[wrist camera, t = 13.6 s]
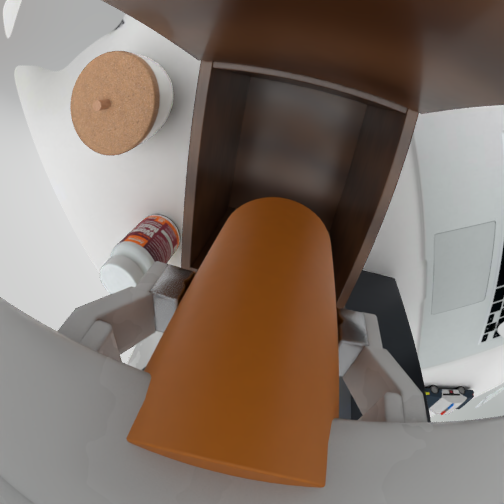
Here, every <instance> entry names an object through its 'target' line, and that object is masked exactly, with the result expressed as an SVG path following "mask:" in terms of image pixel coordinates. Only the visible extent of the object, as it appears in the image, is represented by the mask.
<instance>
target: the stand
mask: <svg viewBox="0 0 504 504" xmlns="http://www.w3.org/2000/svg"><path fill="white" fill-rule="evenodd" d="M343 309H348V310H352V311H357V312H364V313H369V314H374V315H376V317H377V321H378V326H379V331H380V336H381V341H382V347H383V349H387V351H388V352H389V353H390V354H391V355H392V357H393V358H394V359H395V360H396V361H397V363H398V364H399V365H400V366H401V368H402V369H403V370H404V371H405V372H406V374H407V375H408V376H409V377H410V379H411V380H412V381H413V382H414V383H415V385H416V386H417V387H418V388H419V390H420V391H421V392H422V393H423V397H424V403H425V409H426V415H427V422H431V421H430V414H429V408H428V403H427V397H426V392H425V387H424V382H423V377H422V373H421V368H420V364H419V360H418V356H417V352H416V348H415V344H414V340H413V336H412V333H411V329H410V326H409V322H408V319H407V315H406V312H405V309H404V305H403V302H402V299H401V296H400V293H399V290H398V287H397V284H396V281H395V279H394V278H390V277H386V276H382V275H378V274H374V273H370V272H367V271H363V270H362V271H361V273H360V275H359V278H358V280H357V282H356V284H355V286H354V288H353V290H352V292H351V294H350V296H349V298H348V300H347V302H346V304H345V306H344V308H343ZM362 416H363V415H362V413H361V411H360V409H359V408H358V406H357V404H356V402H355V400H354V398H353V396H352V395H351V393H350V391H349V389H348V387H347V385H346V384H345V382H344V380H343V377H341V376H339V418H340V419H350V420H358V419H359V418H360V417H362Z"/></svg>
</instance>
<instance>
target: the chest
mask: <svg viewBox="0 0 504 504" xmlns="http://www.w3.org/2000/svg"><path fill="white" fill-rule="evenodd" d="M418 114H419V112H416V111H414V110H412V109H409V108H407V107H404V106H402V105H399V104H397V103H394V102H392V101H389V100H386V99H383V98H381V97H378V96H375V95H372V94H369V93H366V92H363V91H360V90H357V89H354V88H351V87H347V86H344V85H340V84H337V83H333V82H330V81H326V80H322V79H318V78H314V77H310V76H305V75H301V74H296V73H292V72H287V71H281V70H276V69H270V68H264V67H258V66H251V65H244V64H236V63H227V62H216V61H203V60H201V64H200V71H199V77H198V83H197V90H196V97H195V104H194V112H193V119H192V128H191V136H190V145H189V155H188V165H187V176H186V188H185V201H184V216H183V234H182V257H181V268H183V269H186V270H190V271H193V272H195V273H197V271H198V269H199V268H200V266H201V264H202V262H203V261H204V259H205V257H206V255H207V254H208V252H209V250H210V248H211V247H212V245H213V243H214V241H215V240H216V238H217V236H218V234H219V233H220V231H221V229H222V228H223V226H224V224H225V223H226V221H227V219H228V218H229V217H230V215H231V214H232V213H233V212H234V211H235V210H236V209H237V208H239V207H240V206H242V205H243V204H245V203H247V202H250V201H252V200H255V199H260V198H266V197H280V198H285V199H290V200H293V201H296V202H298V203H300V204H302V205H304V206H306V207H307V208H309V209H310V210H311V211H313V212H314V213H315V214H316V215H317V216H318V217H319V218H320V219H321V221H322V222H323V224H324V225H325V227H326V229H327V231H328V234H329V237H330V241H331V249H332V259H333V270H334V281H335V294H336V307H338V308H344V306H345V304H346V302H347V300H348V298H349V296H350V294H351V292H352V290H353V288H354V286H355V284H356V282H357V280H358V278H359V275H360V273H361V271H362V269H363V267H364V264H365V262H366V260H367V258H368V255H369V253H370V251H371V249H372V246H373V244H374V242H375V239H376V237H377V234H378V232H379V229H380V227H381V225H382V222H383V219H384V217H385V214H386V212H387V209H388V207H389V204H390V201H391V199H392V196H393V193H394V190H395V188H396V185H397V182H398V179H399V176H400V173H401V170H402V167H403V164H404V161H405V158H406V155H407V152H408V149H409V145H410V142H411V139H412V135H413V132H414V128H415V125H416V121H417V117H418Z"/></svg>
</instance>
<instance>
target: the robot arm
mask: <svg viewBox="0 0 504 504" xmlns="http://www.w3.org/2000/svg"><path fill="white" fill-rule="evenodd" d="M195 275H196V273H195V272H193V271H190V270H186V269H183V268H180V267H176V266H173V265H169V264H166V263H162V262H159V261H156V262H154V263H153V264H152V266H151V267H150V268H149V269H148V271H147V272H146V273H145V275H144V276H143V277H142V278H141V280H140V281H139V282H138V284H137V285H136V286H135V287H132V286H131V287H128V288H126V289H123V290H121V291H118V292H116V293H113V294H111V295H108V296H106V297H103V298H100V299H98V300H96V301H93V302H91V303H88V304H85V305H83V306H80V307H78V308H76V309H75V310H74V312H73V313H72V314H71V315H70V317H69V318H68V319H67V320H66V321H65V322H64V324H63V325H62V326H61V328H60V329H59V330H58V331H55V330H53V329H52V328H50V327H48V326H46V325H44V324H42V323H41V322H39V321H37V320H35V319H34V318H32V317H31V316H29V315H27V314H26V313H24V312H22V311H21V310H19V309H18V308H16V307H14V306H13V305H11V304H10V303H8V302H7V301H5V300H4V299H2V298H1V297H0V504H504V416H498V417H491V418H484V419H475V420H464V421H450V422H427V415H426V409H425V403H424V397H423V393H422V392H421V391H420V390H419V388H418V387H417V386H416V385H415V383H414V382H413V381H412V380H411V379H410V377H409V376H408V375H407V374H406V372H405V371H404V370H403V369H402V368H401V366H400V365H399V364H398V363H397V361H396V360H395V359H394V358H393V357H392V355H391V354H390V353H389V352H388V351H387V349H383V347H382V341H381V336H380V331H379V326H378V321H377V317H376V315H374V314H369V313H364V312H357V311H352V310H348V309H343V308H338V307H336V309H337V327H338V352H339V376H341V377H343V380H344V382H345V384H346V385H347V387H348V389H349V391H350V393H351V395H352V396H353V398H354V400H355V402H356V404H357V406H358V408H359V409H360V411H361V413H362V415H363V416H362V417H360V418H359V419H358V420H350V419H340V418H334V419H333V420H332V423H331V430H330V436H329V441H328V454H327V470H326V482H325V486H324V487H321V488H317V487H303V486H293V485H284V484H276V483H269V482H263V481H257V480H251V479H246V478H241V477H236V476H231V475H227V474H223V473H218V472H214V471H211V470H207V469H203V468H199V467H196V466H193V465H189V464H186V463H183V462H180V461H177V460H174V459H171V458H168V457H165V456H162V455H159V454H157V453H154V452H151V451H149V450H146V449H144V448H141V447H139V446H136V445H134V444H132V443H129V442H128V441H127V439H126V438H127V436H128V434H129V432H130V429H131V427H132V425H133V423H134V421H135V419H136V417H137V415H138V413H139V410H140V408H141V406H142V404H143V402H144V400H145V397H146V393H147V390H148V387H149V384H150V381H151V375H150V373H148V372H145V371H144V370H145V368H146V366H147V364H148V362H149V360H150V358H151V356H152V354H153V352H154V350H155V348H156V347H157V345H158V343H159V341H160V339H161V337H162V335H163V333H164V331H165V330H166V328H167V326H168V324H169V322H170V320H171V318H172V316H173V315H174V313H175V311H176V309H177V307H178V305H179V304H180V302H181V300H182V298H183V296H184V294H185V293H186V291H187V289H188V287H189V285H190V284H191V282H192V280H193V278H194V276H195ZM134 345H135V346H134ZM133 346H134V349H133V351H132V353H131V355H130V357H129V359H128V361H127V364H125V363H122V361H121V358H120V354H122V353H123V352H125V351H127V350H128V349H130V348H131V347H133Z"/></svg>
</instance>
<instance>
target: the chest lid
mask: <svg viewBox="0 0 504 504" xmlns="http://www.w3.org/2000/svg"><path fill="white" fill-rule="evenodd" d="M102 1H104V2H106V3H108V4H109V5H111V6H113V7H115V8H117V9H119V10H121V11H122V12H124V13H126V14H128V15H129V16H131V17H133V18H135V19H136V20H138V21H140V22H141V23H143V24H145V25H146V26H148V27H149V28H151V29H153V30H154V31H156V32H157V33H159V34H161V35H162V36H164V37H165V38H167V39H168V40H170V41H171V42H173V43H174V44H176V45H177V46H179V47H180V48H182V49H183V50H184V51H186V52H187V53H189V54H190V55H192V56H193V57H194V58H196V59H197V60H203V61H216V62H227V63H236V64H244V65H251V66H258V67H264V68H270V69H276V70H281V71H287V72H292V73H296V74H301V75H305V76H310V77H314V78H318V79H322V80H326V81H330V82H333V83H337V84H340V85H344V86H347V87H351V88H354V89H357V90H360V91H363V92H366V93H369V94H372V95H375V96H378V97H381V98H383V99H386V100H389V101H392V102H394V103H397V104H399V105H402V106H404V107H407V108H409V109H412V110H414V111H416V112H419V113H421V114H424V113H431V112H438V111H445V110H452V109H461V108H470V107H480V106H492V105H504V0H102Z"/></svg>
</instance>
